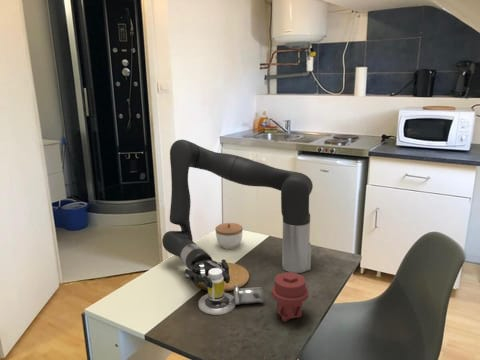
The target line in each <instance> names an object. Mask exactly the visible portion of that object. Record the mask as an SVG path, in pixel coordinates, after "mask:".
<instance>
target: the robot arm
mask: <svg viewBox="0 0 480 360" xmlns="http://www.w3.org/2000/svg"><path fill="white" fill-rule="evenodd" d="M169 162H170V173H171V174H170V176H171V177H170V179H171V196H170V197H171V198H170V209H169V222H170V223H171V224H173V225H176V226H179V227H180V230H169V231H167V232H165V233H164V235H162V238H161V239H162V241H161V243H162V247H163V249H165V251H166V252H168V253H169V254H172V255H174V256H175V257H178V258H179V259H180V260H181V261H182V263H183V264H184V266H185V267H186V269H184V279H186V280H188V281H190V282H191V283H193V284H195V285H199V284H200V283H201V284H202V285H204V286H205V287H206V288H208V287H209V288H213V285H212V281H211V280H210V279H209V278H208V277H209V275H208V274H209V273H208V272H209V270H210V269H213V268H219V269H221V270H222V276H223V277H224V283H225V284H230V281H231V276H230V266H229V265H228V263H227V260H226V259H221V261H220V262H218V261H215V260H213V258H212V257H211V255H210V254H209V253H208V252H207V251H206V250H204V249H203V248H202V247H201V246H199V245H197V244H196V242H194V241H193V233H192V230H191V222H190V218H191V217H190V215H191V205H192V204H191V194H190V193H191V192H190V188H189V187H190V186H189V171H190V168H193V169H199V170H203V171H208V172H210V173H212V174H214V175H216V176H218V177H221V178H222V179H225V180H227V181H229V182H233V183H236V184H238V185H241V186H248V187H259V188H260V187H263V188H264V187H265V188H271V189H275V190H277V191H280V203H281V205H280V208H281V209H280V210H281V216H282V249H281V250H282V253H281V255H282V261H281V263H282V265H281V267H282V269H283V270H284V271H286V272H292V273H297V274H300V273H304V272H307V271H311V267H312V266H311V263H312V262H311V260H312V257H311V256H312V244H311V241H310V239H311V238H310V236H311V235H310V234H311V231H310V230H311V213H310V194H311V193H312V191H313V181H312V179H311V178H310V177H309V176H308V175H307V174H304V173H303V172H298V171H293V170H286V169H282V168H281V169H280V168H276V167H274V166H271V165H268V164H265V163H262V162H258V161H256V160H253V159H250V158H246V157H242V156H241V155H240V156H239V155H236V154H231V153H225V152H217V151H213V150H210V149H207V148H205V147H202V146H200V145H198V144H197V143H194V142H191V141H189V140H186V139H177V140H176V141H174V142H173V143H172V144H171V146H170V150H169Z"/></svg>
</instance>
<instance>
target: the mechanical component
mask: <svg viewBox="0 0 480 360" xmlns="http://www.w3.org/2000/svg"><path fill="white" fill-rule="evenodd" d="M271 296H272V298H273V300H275V301H276V302H277V305H276V312H277V313H278V315H279V316H280V317H281V320H282V322H285V323H286V322H287V321H290V320H291V319H297V318H301V317H302V316H303V315H302V314H303V303H304V302H305V301H306V300H308V297H309V289H308V287H307V286H306V278H305V277H304V276H303V275H302V274H300V273H292V272H288V271H286V272H282V273H281V272H280V273H279V274H277V275H276V276H275V278H274V284H273V286H272V287H271Z"/></svg>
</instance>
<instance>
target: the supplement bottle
mask: <svg viewBox="0 0 480 360" xmlns="http://www.w3.org/2000/svg"><path fill="white" fill-rule="evenodd" d="M208 273H209V274H208V275H209V276H207V277H208V278H209V279H210V280H211V281H212V285H213V288H209V287H207V294H208V297H209V299H210V300H212V301H219V300H222V299H223V298H224V292H225V281H224V277H223V276H222V270H221V269H219V268H213V269H210V270H209V272H208Z"/></svg>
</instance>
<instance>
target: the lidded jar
mask: <svg viewBox="0 0 480 360" xmlns="http://www.w3.org/2000/svg"><path fill="white" fill-rule="evenodd" d="M214 229H215V236H216V241H217V242H218V243H217V244H219V245H220V246H221V247H222V248H223V249H227V250H232V249H236V248H237V247H238V246H239V245H240V244H241V241H242V239H243V226H242V225H241V224H239V223H237V222H236V223H235V222H225V223H220V224H218V225H217V226H216V227H215V228H214Z"/></svg>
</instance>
